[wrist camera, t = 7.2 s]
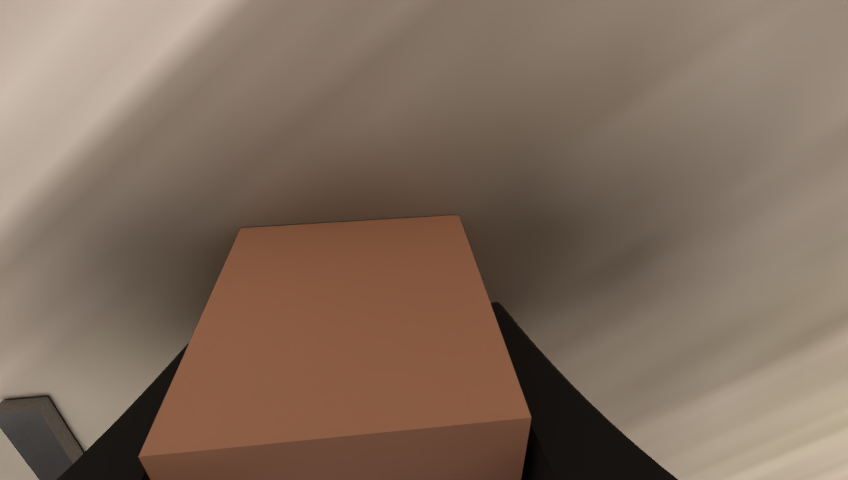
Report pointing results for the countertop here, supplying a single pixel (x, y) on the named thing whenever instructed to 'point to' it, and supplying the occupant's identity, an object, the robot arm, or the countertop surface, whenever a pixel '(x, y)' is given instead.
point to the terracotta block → (344, 363)
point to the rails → (39, 436)
